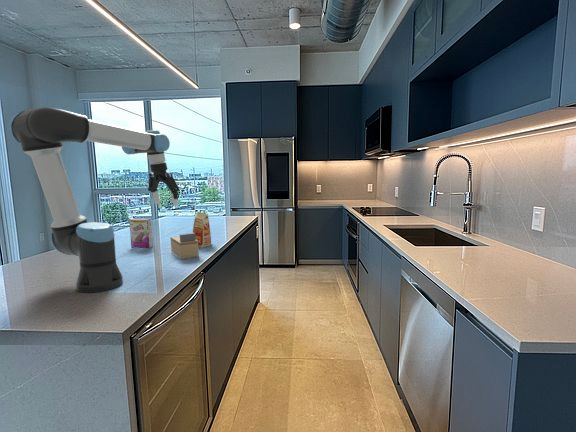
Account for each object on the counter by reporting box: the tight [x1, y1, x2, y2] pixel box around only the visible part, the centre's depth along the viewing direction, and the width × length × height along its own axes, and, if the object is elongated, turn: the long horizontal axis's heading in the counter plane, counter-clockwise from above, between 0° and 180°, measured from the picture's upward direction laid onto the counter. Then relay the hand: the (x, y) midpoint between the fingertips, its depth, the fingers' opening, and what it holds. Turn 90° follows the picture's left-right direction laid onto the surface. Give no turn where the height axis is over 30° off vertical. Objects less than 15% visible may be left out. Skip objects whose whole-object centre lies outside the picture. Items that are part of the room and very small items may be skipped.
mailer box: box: [170, 238, 200, 260], centre depth 168 cm, size 9×18×7 cm, turn 34°
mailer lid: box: [170, 232, 198, 245], centre depth 167 cm, size 9×18×5 cm, turn 34°
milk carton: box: [192, 211, 212, 248], centre depth 189 cm, size 9×9×20 cm
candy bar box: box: [129, 218, 154, 249], centre depth 186 cm, size 11×5×16 cm, turn 84°
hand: (166, 204), depth 164 cm, fingers open, 13 cm apart
